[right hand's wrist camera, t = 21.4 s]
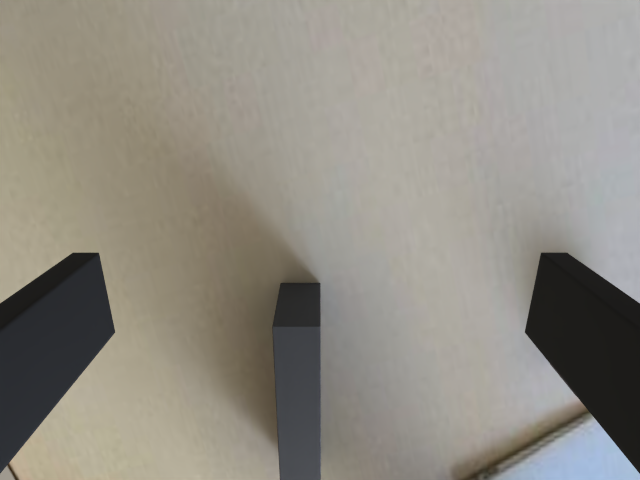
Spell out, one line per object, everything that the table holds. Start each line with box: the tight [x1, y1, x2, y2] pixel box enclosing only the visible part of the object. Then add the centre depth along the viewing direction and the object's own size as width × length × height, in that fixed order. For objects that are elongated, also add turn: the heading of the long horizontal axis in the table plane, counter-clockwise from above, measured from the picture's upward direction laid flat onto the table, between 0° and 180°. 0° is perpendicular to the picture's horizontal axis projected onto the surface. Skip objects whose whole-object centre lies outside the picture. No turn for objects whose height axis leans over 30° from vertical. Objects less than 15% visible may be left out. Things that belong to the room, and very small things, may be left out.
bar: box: [273, 283, 321, 480], centre depth 43 cm, size 24×4×8 cm, turn 0°
